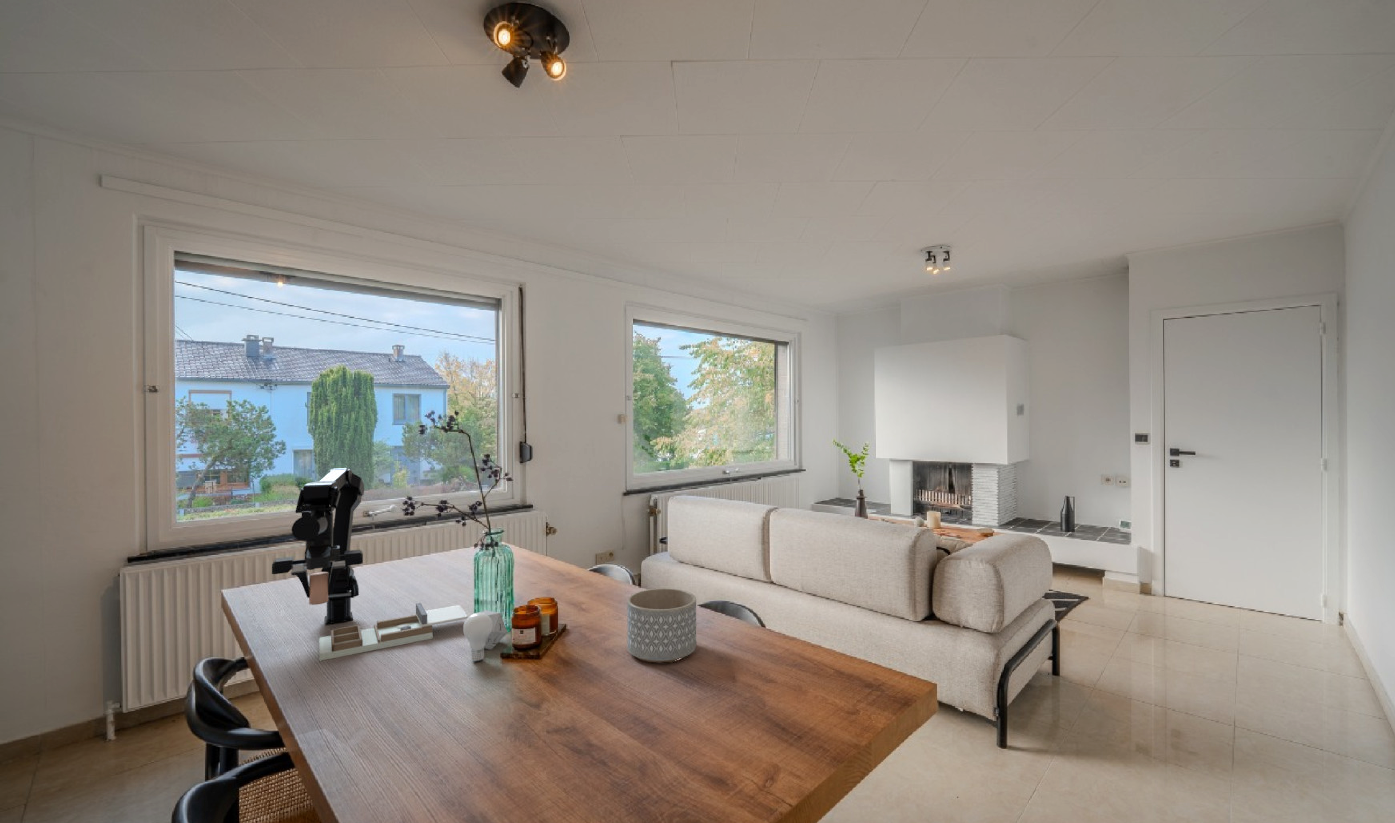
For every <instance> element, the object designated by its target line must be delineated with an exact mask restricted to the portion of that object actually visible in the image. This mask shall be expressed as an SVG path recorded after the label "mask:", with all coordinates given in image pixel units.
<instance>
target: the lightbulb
mask: <svg viewBox="0 0 1395 823" xmlns="http://www.w3.org/2000/svg"><path fill="white" fill-rule="evenodd" d="M481 612H482V611H480V612H479V611H478V612H475V613H471V615H469V616H468V618H467V619H465V621H464V623H463V626H462V630H463V631H462V632H463V634H464V637H465V638H466V640H467V641H468V643H469V646H470V649H471V660H472V661H473V662H476V663H477V662H481V661H483V659H484V658H485V648H484V647H485V644H486V640H487V638H488V636H489V635H490V633H491V631H492V626H493V624H492V620H491V618H490V617H489V616H488V615H487V614H485V613H481Z"/></svg>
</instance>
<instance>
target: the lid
mask: <svg viewBox="0 0 1395 823" xmlns="http://www.w3.org/2000/svg"><path fill="white" fill-rule="evenodd" d="M415 615H416V616H417V618H418V620H419V622H420V624H421V626H422V627H425V626H431V625H432V626H435V625H441V624H446V623H451V622H452V623H453V622H458V621H464V620H466V619H467V618H468V617H469V616H468V614H467V613H466V612H465V610H464V609H463V607H461V605H460V604H457V605H451V606H445V607H439V608H433V609H429V610H428V609H425V608H424V606H423V604H422V602H417V603H415Z"/></svg>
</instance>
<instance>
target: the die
mask: <svg viewBox="0 0 1395 823" xmlns="http://www.w3.org/2000/svg"><path fill="white" fill-rule="evenodd" d="M480 612H481V613H485V614H487V615H488V616H489V617H490V618H491V620H492V624H493V626H492V631H491V633H490V635H489V636H488V638H487V640H486V644H485V647H484V650H490V651H491V650H493V649H494V647H495V646H497V644H498V643H499V642H501V640H502V639H503V638H504V637H505V636H507V635H508V633H509V632H508V630H507V627H506V624H505V622H504V619H503V617H502V614H501V612H497V611H492V610H485V609H483V611H480Z"/></svg>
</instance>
